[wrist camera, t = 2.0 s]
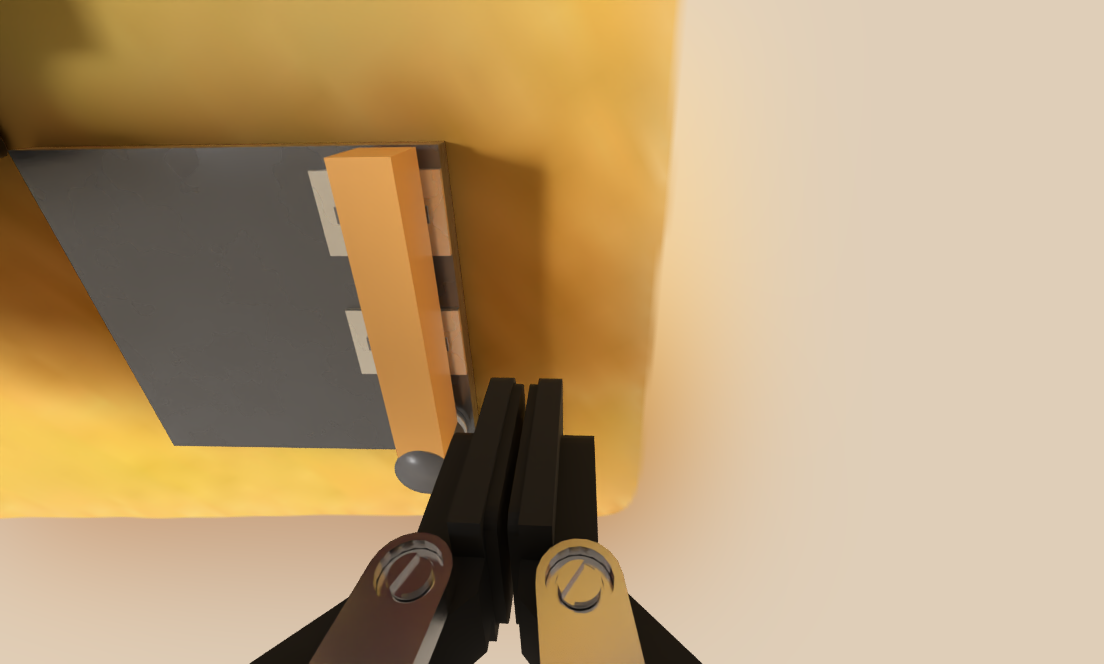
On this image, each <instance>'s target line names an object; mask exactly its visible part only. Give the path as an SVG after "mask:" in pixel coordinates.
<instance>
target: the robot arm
mask: <svg viewBox="0 0 1104 664" xmlns="http://www.w3.org/2000/svg"><path fill="white" fill-rule="evenodd" d="M513 595H514V605H515V615H516V623H517V624H519V627H520V639H521V649H522V654H523V655H524V657H525V658H526V660H527V661H528V662H529V663H530V664H702V663H701V662H700V661H699V660H698V659H697V658H696V657H695V656H694V655H693V654H692V653H690V652H689V651H688V650H687V649H686V648H685V647H684V646H683V645H682V644H681V643H680V642H679V641H678V640H677V639H676V638H675V637H674V636H673V635H671V634H670V633H669V632H668V631H667V630H666V629H665V628H664V627H663V626H662V625H661V624H660V623H659V622H658V621H657V620H656V619H654V617H652V616H651V615H650V614H649V613H648V612H647V611H646V610H645V609H644V608H643V607H642V606H641V605H640V604H638V602H637V601H636V600H634V599H633V598H632V597H631V596H630V595H629V594H628V592H627V588H626V584H625V580H624V575H623V572H622V570H621V567H620V565H619V562H618V560H617V559H616V558H615V557H614V556H613V555H612V553H611V552H610V551H609V550H608V549H606V548H605V547H603V546H602V545H600V544H599V543H598V527H597V500H596V473H595V445H594V436H573V435H563V384H562V379H542V378H540V379H539V383H538V385H535V384H530V387H529V393H528V399H527V405H526V411H525V394H524V385H523V384H516V381H515V378H491V380H490V382H489V386H488V389H487V392H486V395H485V399H484V402H483V405H482V408H481V412H480V415H479V418H478V421H477V424H476V428H475V431H474V433H460V432H456V433H455V434H454V435H453V437H452V439H451V442H450V444H449V447H448V450H447V453H446V455H445V458H444V461H443V464H442V466H441V469H440V472H439V474H438V477H437V480H436V483H435V485H434V488H433V491H432V494H431V496H430V499H429V502H428V504H427V507H426V510H425V513H424V515H423V518H422V521H421V524H420V526H419V529H418V532H415V533H412V534H407V535H403V536H401V537H399V538H397V539H395V540H393V541H391V542H389V543H388V544H387V545H385V546H384V547H383V548H382V549H381V550H379V551H378V553H377V554H376V555H375V556H374V558H373V559H372V560H371V562H370V563H369V565H368V566H367V568H366V570H365V571H364V573H363V575H362V576H361V578H360V580H359V581H358V583H357V585H356V586H355V588H354V590H353V591H352V593H351V594H350V596H349V597H348V598H347V599H345V600H344V601H342V602H341V603H339V604H338V605H336V606H335V607H333V608H332V609H330V610H329V611H327V612H326V613H325V614H323V615H321V616H320V617H318V618H317V619H316V620H314V621H313V622H311V623H310V624H308V625H306V626H305V627H303V628H302V629H301V630H299V631H298V632H296V633H295V634H293V635H292V636H290V637H289V638H287V639H286V640H284V641H283V642H281V643H280V644H278V645H277V646H275V647H274V648H272V649H271V650H269V651H268V652H266V653H265V654H263V655H262V656H260V657H259V658H257V659H256V660H254V661H253V662H251V663H250V664H474V663H475V662H476V661H477V660H478V659H479V658H481V657H482V656H483V655H484V654H485V653H486V652H487V650H488V644H489V641H497V635H498V629H499V623H506V624H508V623H509V619H510V612H511V605H512V598H513Z"/></svg>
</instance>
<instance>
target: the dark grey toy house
mask: <svg viewBox="0 0 1104 664" xmlns="http://www.w3.org/2000/svg"><path fill="white" fill-rule="evenodd" d="M7 150H8V149H7V147H6V145H5V143H4V141H3V140H2V138H1V137H0V158H3V157H5V156H7V153H8V151H7Z"/></svg>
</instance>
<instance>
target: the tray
mask: <svg viewBox="0 0 1104 664" xmlns="http://www.w3.org/2000/svg"><path fill="white" fill-rule="evenodd" d="M371 147H416V153H417V159H418V166H419V172H420V179H421V185H422V192H423V199H424V205H425V212H426V218H427V225H428V231H429V238H430V244H431V251H432V257H433V264H434V271H435V277H436V284H437V290H438V297H439V303H440V310H441V316H442V323H443V330H444V336H445V343H446V349H447V356H448V362H449V369H450V375H451V382H452V388H453V395H454V402H455V408H456V415H457V421H458V423H459V424H460V425H461V426H462V428H463V429H464V432H465V433H474V431H475V428H476V424H477V421H478V418H479V416H478V407H477V399H476V391H475V383H474V375H473V367H472V358H471V350H470V342H469V334H468V326H467V318H466V310H465V301H464V293H463V285H462V277H461V269H460V261H459V252H458V244H457V236H456V228H455V220H454V212H453V204H452V195H451V187H450V179H449V171H448V163H447V155H446V146H445V141H440V142H368V143H295V144H223V145H151V146H79V147H31V148H23V149H14V150H7V151H8V152H9V154H10V156H11V158H12V159H13V161H14V163H15V165H16V167H17V168H18V170H19V172H20V174H21V175H22V177H23V179H24V181H25V182H26V184H27V186H28V188H29V190H30V191H31V193H32V195H33V197H34V198H35V200H36V202H37V204H38V205H39V207H40V209H41V211H42V213H43V214H44V216H45V218H46V220H47V221H48V223H49V225H50V227H51V228H52V230H53V232H54V234H55V236H56V237H57V239H58V241H59V243H60V244H61V246H62V248H63V250H64V252H65V253H66V255H67V257H68V259H69V260H70V262H71V264H72V266H73V267H74V269H75V271H76V273H77V275H78V276H79V278H80V280H81V282H82V283H83V285H84V287H85V289H86V290H87V292H88V294H89V296H90V298H91V299H92V301H93V303H94V305H95V306H96V308H97V310H98V312H99V313H100V315H101V317H102V319H103V321H104V322H105V324H106V326H107V328H108V329H109V331H110V333H111V335H112V336H113V338H114V340H115V342H116V344H117V345H118V347H119V349H120V351H121V352H122V354H123V356H124V358H125V359H126V361H127V363H128V365H129V367H130V368H131V370H132V372H133V374H134V375H135V377H136V379H137V381H138V382H139V384H140V386H141V388H142V390H143V391H144V393H145V395H146V397H147V398H148V400H149V402H150V404H151V405H152V407H153V409H154V411H155V413H156V414H157V416H158V418H159V420H160V421H161V423H162V425H163V427H164V429H165V430H166V432H167V434H168V436H169V437H170V439H171V441H172V443H173V444H174V446H228V447H288V448H347V449H396V448H395V444H394V440H393V436H392V432H391V428H390V424H389V420H388V416H387V411H386V407H385V403H384V399H383V395H382V391H381V387H380V383H379V379H378V375H377V371H376V367H375V363H374V359H373V355H372V351H371V347H370V343H369V339H368V335H367V331H366V327H365V323H364V319H363V315H362V311H361V307H360V303H359V299H358V295H357V290H356V286H355V282H354V278H353V274H352V270H351V266H350V262H349V258H348V254H347V250H346V246H345V242H344V238H343V234H342V230H341V226H340V222H339V218H338V214H337V210H336V206H335V202H334V198H333V194H332V190H331V186H330V182H329V178H328V174H327V169H326V165H325V161H324V157H328V156H331V155H335V154H338V153H341V152H345V151H348V150H352V149H355V148H371Z"/></svg>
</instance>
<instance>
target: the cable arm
mask: <svg viewBox="0 0 1104 664" xmlns="http://www.w3.org/2000/svg"><path fill="white" fill-rule="evenodd" d="M324 161H325V165H326V169H327V174H328V178H329V182H330V186H331V190H332V194H333V198H334V202H335V206H336V210H337V214H338V218H339V222H340V226H341V230H342V234H343V238H344V242H345V246H346V250H347V254H348V258H349V262H350V266H351V270H352V274H353V278H354V282H355V286H356V290H357V295H358V299H359V303H360V307H361V311H362V315H363V319H364V323H365V327H366V331H367V335H368V339H369V343H370V347H371V351H372V355H373V359H374V363H375V367H376V371H377V375H378V379H379V383H380V387H381V391H382V395H383V399H384V403H385V407H386V411H387V416H388V420H389V424H390V428H391V432H392V436H393V440H394V444H395V448H396V452H397V456H398V459H397V461H396V464H395V473H396V476H397V478H398V479H399V480H400V481H401V483H403V484H404V485H405V486H406V487H408V488H410V489H412V490H414V491H417V492H420V493H428V494H431V493H432V491H433V488H434V485H435V483H436V480H437V477H438V474H439V472H440V469H441V466H442V464H443V461H444V458H445V455H446V453H447V450H448V447H449V444H450V442H451V439H452V437H453V435H454V434H455V433H456V432H460V433H465V432H464V429H463V428H462V426H461V425H460V424H459V423H458V421H457V415H456V408H455V402H454V395H453V388H452V382H451V375H450V369H449V362H448V356H447V349H446V343H445V336H444V330H443V323H442V316H441V310H440V303H439V297H438V290H437V284H436V277H435V271H434V264H433V257H432V251H431V244H430V238H429V231H428V225H427V218H426V212H425V205H424V199H423V192H422V185H421V179H420V172H419V166H418V159H417V153H416V147H371V148H355V149H352V150H348V151H345V152H341V153H338V154H335V155H331V156H328V157H324Z"/></svg>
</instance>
